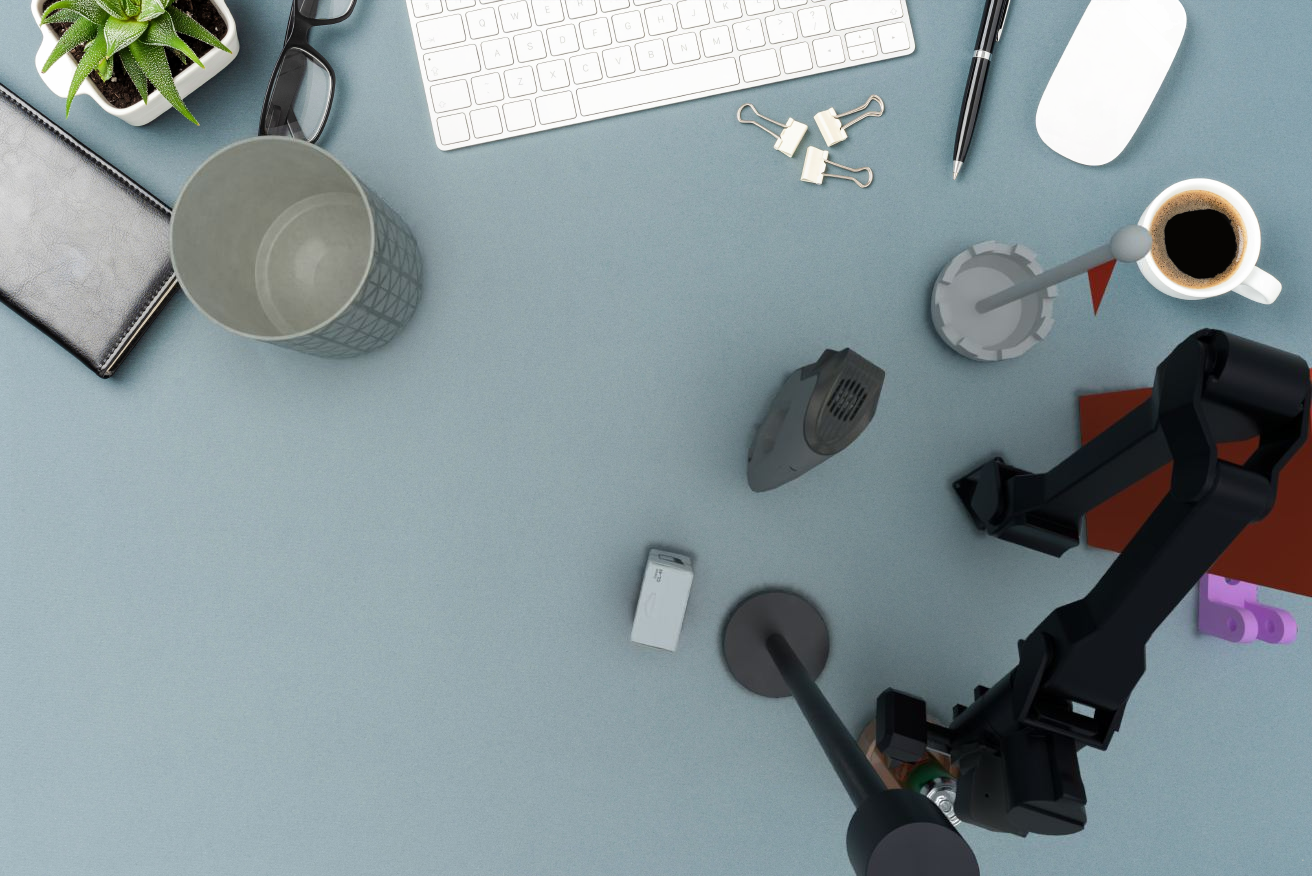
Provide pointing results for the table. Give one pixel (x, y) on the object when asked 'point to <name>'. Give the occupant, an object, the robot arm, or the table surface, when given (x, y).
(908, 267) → the table surface
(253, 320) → the planter
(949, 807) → the soda can
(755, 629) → the desk lamp
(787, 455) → the handheld device
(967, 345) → the flag stand
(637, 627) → the ink box
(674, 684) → the table surface
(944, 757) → the bowl
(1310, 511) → the file binder
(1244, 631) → the bracket
